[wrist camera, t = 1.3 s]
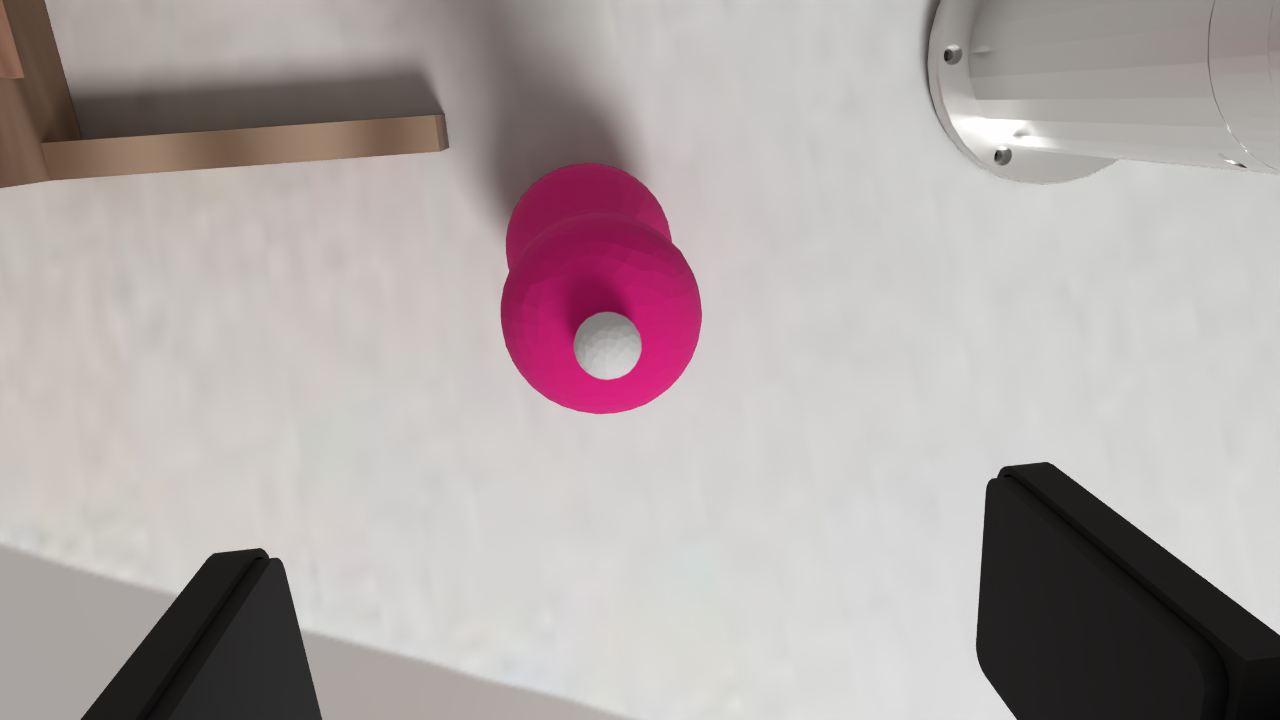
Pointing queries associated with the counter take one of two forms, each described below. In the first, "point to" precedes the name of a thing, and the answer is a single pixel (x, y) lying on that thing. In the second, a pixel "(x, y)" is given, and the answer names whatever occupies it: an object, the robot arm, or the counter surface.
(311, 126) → the spice rack
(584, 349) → the pepper mill
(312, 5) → the counter surface
